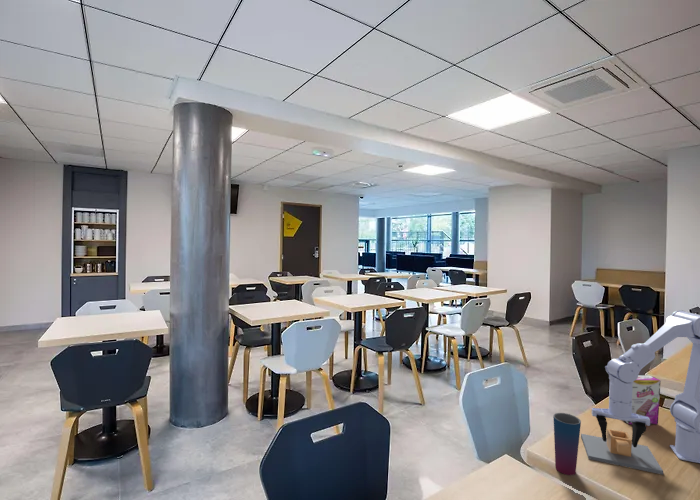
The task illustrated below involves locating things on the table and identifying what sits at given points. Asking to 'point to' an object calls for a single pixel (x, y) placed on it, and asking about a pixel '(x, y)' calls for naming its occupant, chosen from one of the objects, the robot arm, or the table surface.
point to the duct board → (638, 459)
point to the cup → (566, 442)
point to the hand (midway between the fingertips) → (619, 442)
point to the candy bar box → (646, 397)
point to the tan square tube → (619, 442)
